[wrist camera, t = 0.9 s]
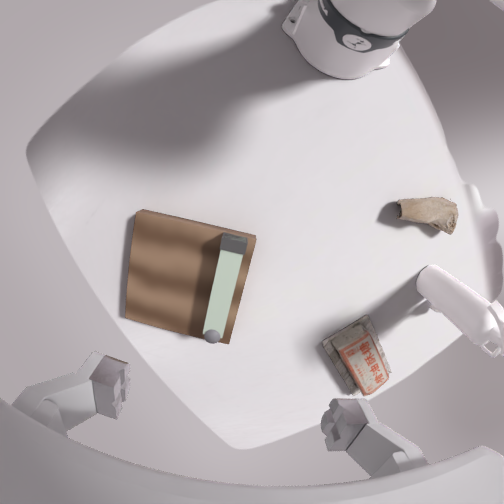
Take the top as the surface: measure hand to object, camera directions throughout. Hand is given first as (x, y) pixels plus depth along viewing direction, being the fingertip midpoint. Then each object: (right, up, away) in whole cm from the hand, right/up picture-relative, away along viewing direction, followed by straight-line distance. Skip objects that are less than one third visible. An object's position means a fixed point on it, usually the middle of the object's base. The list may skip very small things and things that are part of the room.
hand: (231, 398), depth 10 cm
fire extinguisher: (+35, -1, +37) cm, 51 cm away
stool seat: (-10, +2, +34) cm, 36 cm away
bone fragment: (+31, +12, +33) cm, 47 cm away
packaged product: (+22, -15, +41) cm, 49 cm away
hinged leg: (-3, 0, +32) cm, 32 cm away
